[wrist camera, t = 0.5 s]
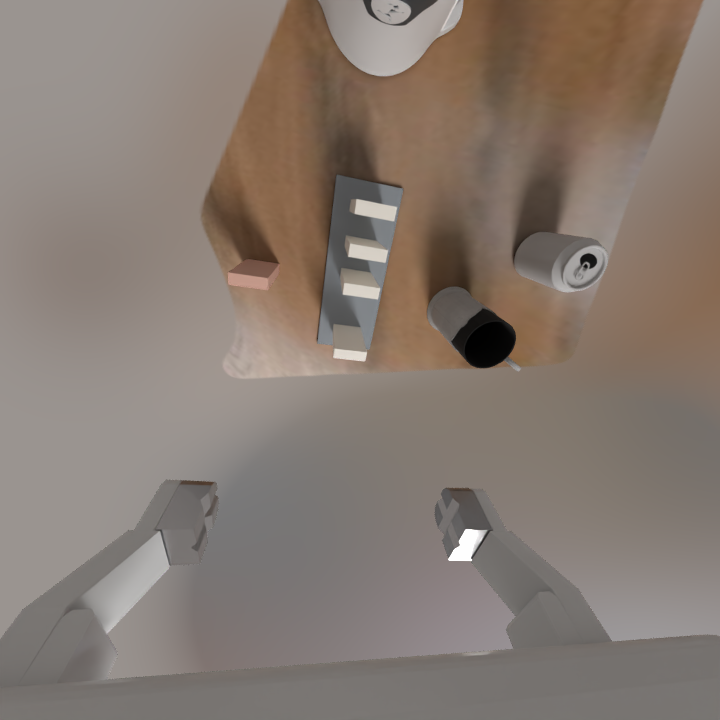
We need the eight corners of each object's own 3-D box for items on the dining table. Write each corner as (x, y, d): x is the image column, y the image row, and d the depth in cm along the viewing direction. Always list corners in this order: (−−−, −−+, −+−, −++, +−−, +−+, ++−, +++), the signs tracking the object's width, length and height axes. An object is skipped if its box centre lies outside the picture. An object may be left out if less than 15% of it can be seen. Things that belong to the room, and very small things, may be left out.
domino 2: (350, 199, 42) (356, 198, 34) (383, 205, 43) (397, 207, 35) (349, 211, 43) (354, 213, 34) (381, 217, 44) (394, 221, 35)
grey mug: (451, 276, 50) (494, 303, 37) (500, 320, 55) (553, 358, 42) (417, 315, 53) (446, 352, 40) (467, 353, 58) (507, 397, 45)
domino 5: (333, 323, 52) (334, 348, 43) (360, 327, 53) (367, 352, 44) (332, 331, 52) (333, 357, 44) (359, 335, 53) (365, 361, 45)
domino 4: (341, 267, 47) (344, 282, 38) (370, 272, 48) (380, 288, 39) (340, 277, 48) (342, 294, 39) (369, 281, 49) (377, 299, 40)
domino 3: (345, 235, 45) (350, 243, 36) (376, 240, 46) (388, 250, 37) (344, 246, 45) (348, 256, 37) (374, 251, 46) (385, 262, 38)
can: (562, 243, 49) (626, 255, 39) (533, 283, 52) (584, 303, 42) (531, 222, 47) (589, 229, 36) (502, 265, 50) (548, 282, 40)
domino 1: (247, 258, 45) (227, 272, 37) (279, 263, 46) (268, 278, 38) (247, 268, 46) (228, 284, 37) (279, 273, 47) (267, 290, 38)
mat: (336, 174, 41) (336, 174, 41) (402, 188, 43) (403, 188, 42) (317, 342, 54) (317, 343, 53) (369, 348, 55) (369, 349, 55)
